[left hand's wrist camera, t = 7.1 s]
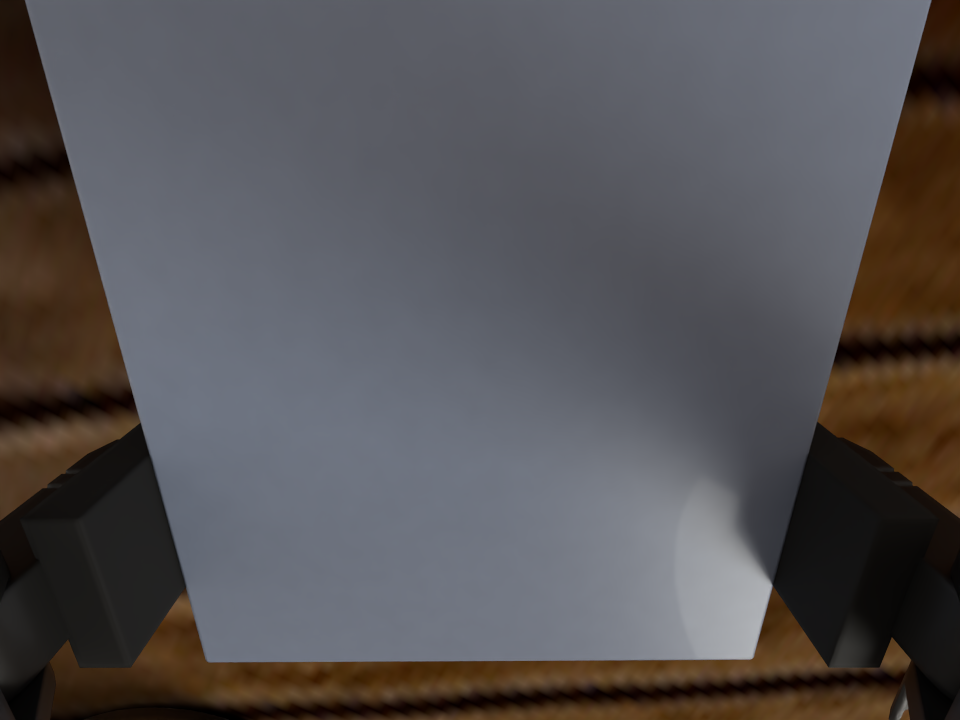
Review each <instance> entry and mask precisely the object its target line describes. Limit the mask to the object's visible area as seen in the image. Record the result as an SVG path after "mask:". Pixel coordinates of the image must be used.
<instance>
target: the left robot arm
mask: <svg viewBox="0 0 960 720" xmlns="http://www.w3.org/2000/svg"><path fill="white" fill-rule="evenodd" d="M773 586H774V588H775V589H776V591H777V592H778V593H779V595H780V596H781V598H782V599H783V601H784V602H785V604H786V605H787V607H788V608H789V610H790V611H791V613H792V614H793V616H794V617H795V619H796V620H797V621H798V623H799V624H800V626H801V627H802V629H803V630H804V632H805V633H806V635H807V636H808V638H809V639H810V641H811V642H812V644H813V645H814V646H815V648H816V649H817V651H818V652H819V654H820V655H821V657H822V658H823V660H824V661H825V663H826V664H827V666H828V667H829V668H879V667H880V665H881V662H882V660H883V658H884V655H885V653H886V650H887V648H888V645H889V643H890V640H891V638H893V639H894V640H895V641H896V642H897V643H898V645H899V646H900V647H901V648H902V649H903V650H904V652H905V653H906V654H907V655H908V656H909V657H910V659H911V662H910V665H909V667H908V669H907V671H906V674H905V676H904V678H903V681H902V683H901V685H900V688H899V690H898V692H897V694H896V697H895V699H894V701H893V704H892V706H891V709H890V715H889V720H900V718H901V716H902V714H903V711H905V710H907V709H909V715H910V720H960V518H958V517H957V516H956V515H954V514H953V513H952V512H950V511H949V510H948V509H946V508H945V507H944V506H942V505H941V504H940V503H939V502H937V501H936V500H935V499H933V498H932V497H931V496H929V495H928V494H927V493H925V492H924V491H923V490H921V489H920V488H919V487H917V486H913V485H912V482H911V481H910V480H908V479H907V478H906V477H904V476H903V475H902V474H900V473H899V472H894V468H892V467H891V466H890V465H889V464H887V463H886V462H885V461H883V460H882V459H881V458H879V457H878V456H877V455H875V454H874V453H873V452H871V451H869V450H867V449H865V448H863V447H861V446H859V445H857V444H855V443H853V442H851V441H848V440H846V439H844V438H837V437H836V436H835V435H833V434H832V433H831V432H830V431H828V430H827V429H826V428H824V427H823V426H822V425H821V424H819V423H818V422H817V424H816V428H815V431H814V435H813V439H812V442H811V446H810V450H809V454H808V457H807V461H806V465H805V468H804V472H803V476H802V479H801V483H800V487H799V491H798V494H797V498H796V502H795V505H794V509H793V513H792V516H791V520H790V524H789V527H788V531H787V535H786V539H785V542H784V546H783V550H782V553H781V557H780V561H779V564H778V568H777V572H776V575H775V579H774V583H773ZM185 587H186V585H185V582H184V578H183V574H182V571H181V567H180V564H179V560H178V556H177V553H176V549H175V545H174V542H173V538H172V534H171V531H170V527H169V523H168V520H167V516H166V512H165V509H164V505H163V502H162V498H161V494H160V491H159V487H158V483H157V480H156V476H155V472H154V469H153V465H152V461H151V458H150V454H149V451H148V447H147V443H146V440H145V436H144V432H143V429H142V425H141V423H140V424H139V425H137V426H136V427H135V428H134V429H132V430H131V431H130V432H129V433H127V434H126V435H125V436H123V437H122V438H121V439H120V440H115V441H113V442H111V443H109V444H107V445H105V446H103V447H101V448H99V449H97V450H95V451H93V452H91V453H89V454H87V455H86V456H84V457H83V458H82V459H81V460H79V461H78V462H77V463H75V464H74V465H73V466H71V467H70V468H69V469H67V470H66V474H61V475H60V476H58V477H57V478H56V479H54V480H53V481H52V482H50V483H49V484H48V487H47V488H43V489H41V490H40V491H39V492H37V493H36V494H35V495H34V496H32V497H31V498H30V499H28V500H27V501H26V502H24V503H23V504H22V505H20V506H19V507H18V508H17V509H15V510H14V511H13V512H11V513H10V514H9V515H7V516H6V517H5V518H4V519H2V520H1V521H0V720H50V717H51V711H52V705H53V699H54V693H55V686H56V682H55V676H54V671H53V669H52V667H51V665H50V662H49V661H50V660H51V659H52V657H53V656H54V655H55V654H56V653H57V652H58V650H59V649H60V648H61V647H62V646H63V644H64V643H65V642H66V641H67V640H69V642H70V645H71V647H72V650H73V652H74V655H75V657H76V659H77V662H78V664H79V667H80V668H131V666H132V665H133V663H134V662H135V660H136V659H137V657H138V656H139V654H140V653H141V651H142V650H143V648H144V647H145V646H146V644H147V643H148V641H149V640H150V638H151V637H152V635H153V634H154V632H155V631H156V629H157V628H158V626H159V625H160V623H161V622H162V620H163V619H164V618H165V616H166V615H167V613H168V612H169V610H170V609H171V607H172V606H173V604H174V603H175V601H176V600H177V598H178V597H179V595H180V594H181V593H182V591H183V590H184V588H185ZM84 720H228V719H225V718H222V717H218V716H215V715H210V714H206V713H202V712H196V711H190V710H183V709H174V708H131V709H123V710H116V711H111V712H107V713H102V714H99V715H96V716H92V717H89V718H87V719H84Z"/></svg>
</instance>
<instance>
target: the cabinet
mask: <svg viewBox="0 0 960 720" xmlns="http://www.w3.org/2000/svg"><path fill="white" fill-rule="evenodd" d="M25 2H26V6H27V10H28V13H29V17H30V20H31V24H32V28H33V31H34V35H35V39H36V42H37V46H38V50H39V53H40V57H41V61H42V64H43V68H44V71H45V75H46V79H47V82H48V86H49V90H50V93H51V97H52V101H53V104H54V108H55V112H56V115H57V119H58V123H59V126H60V130H61V133H62V137H63V141H64V144H65V148H66V152H67V155H68V159H69V163H70V166H71V170H72V174H73V177H74V181H75V184H76V188H77V192H78V195H79V199H80V203H81V206H82V210H83V214H84V217H85V221H86V225H87V228H88V232H89V235H90V239H91V243H92V246H93V250H94V254H95V257H96V261H97V265H98V268H99V272H100V276H101V279H102V283H103V287H104V290H105V294H106V297H107V301H108V305H109V308H110V312H111V316H112V319H113V323H114V327H115V330H116V334H117V338H118V341H119V345H120V348H121V352H122V356H123V359H124V363H125V367H126V370H127V374H128V378H129V381H130V385H131V389H132V392H133V396H134V400H135V403H136V407H137V410H138V414H139V418H140V421H141V425H142V429H143V432H144V436H145V440H146V443H147V447H148V451H149V454H150V458H151V461H152V465H153V469H154V472H155V476H156V480H157V483H158V487H159V491H160V494H161V498H162V502H163V505H164V509H165V512H166V516H167V520H168V523H169V527H170V531H171V534H172V538H173V542H174V545H175V549H176V553H177V556H178V560H179V564H180V567H181V571H182V574H183V578H184V582H185V585H186V589H187V593H188V596H189V600H190V604H191V607H192V611H193V615H194V618H195V622H196V625H197V629H198V633H199V636H200V640H201V644H202V647H203V651H204V655H205V658H206V661H208V662H341V661H544V660H746V659H752V658H753V657H754V653H755V649H756V646H757V642H758V638H759V635H760V631H761V627H762V624H763V620H764V616H765V612H766V609H767V605H768V601H769V598H770V594H771V590H772V587H773V583H774V579H775V575H776V572H777V568H778V564H779V561H780V557H781V553H782V550H783V546H784V542H785V539H786V535H787V531H788V527H789V524H790V520H791V516H792V513H793V509H794V505H795V502H796V498H797V494H798V491H799V487H800V483H801V479H802V476H803V472H804V468H805V465H806V461H807V457H808V454H809V450H810V446H811V442H812V439H813V435H814V431H815V428H816V424H817V420H818V417H819V413H820V409H821V406H822V402H823V398H824V394H825V391H826V387H827V383H828V380H829V376H830V372H831V369H832V365H833V361H834V357H835V354H836V350H837V346H838V343H839V339H840V335H841V332H842V328H843V324H844V321H845V317H846V313H847V309H848V306H849V302H850V298H851V295H852V291H853V287H854V284H855V280H856V276H857V273H858V269H859V265H860V261H861V258H862V254H863V250H864V247H865V243H866V239H867V236H868V232H869V228H870V224H871V221H872V217H873V213H874V210H875V206H876V202H877V199H878V195H879V191H880V188H881V184H882V180H883V176H884V173H885V169H886V165H887V162H888V158H889V154H890V151H891V147H892V143H893V140H894V136H895V132H896V128H897V125H898V121H899V117H900V114H901V110H902V106H903V103H904V99H905V95H906V91H907V88H908V84H909V80H910V77H911V73H912V69H913V66H914V62H915V58H916V55H917V51H918V47H919V43H920V40H921V36H922V32H923V29H924V25H925V21H926V18H927V14H928V10H929V7H930V3H931V0H25Z"/></svg>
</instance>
